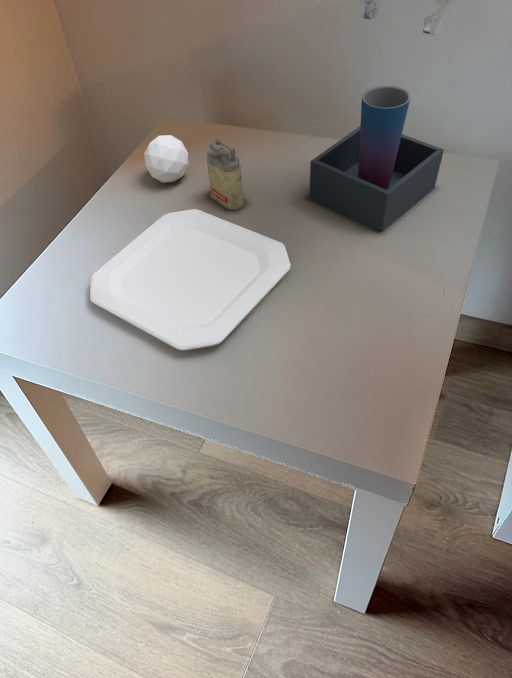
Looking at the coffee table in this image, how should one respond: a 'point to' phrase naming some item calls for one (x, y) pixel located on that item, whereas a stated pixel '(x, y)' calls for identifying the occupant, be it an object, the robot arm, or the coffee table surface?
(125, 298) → the plate
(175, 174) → the geometric ball
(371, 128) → the cup
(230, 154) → the lighter
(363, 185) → the tub
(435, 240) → the coffee table surface
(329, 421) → the coffee table surface
